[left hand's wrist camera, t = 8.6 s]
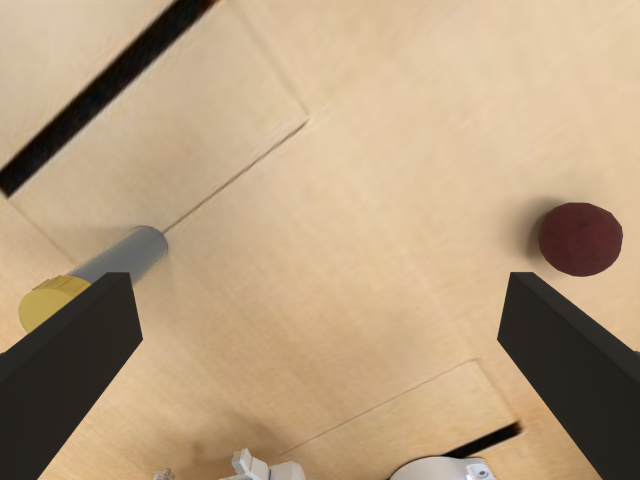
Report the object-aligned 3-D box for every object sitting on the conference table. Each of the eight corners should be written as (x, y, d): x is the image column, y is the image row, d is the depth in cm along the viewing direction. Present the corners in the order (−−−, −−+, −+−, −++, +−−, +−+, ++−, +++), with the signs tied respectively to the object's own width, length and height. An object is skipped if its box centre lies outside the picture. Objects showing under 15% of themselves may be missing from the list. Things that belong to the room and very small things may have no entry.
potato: (540, 270, 43) (580, 300, 36) (513, 217, 41) (551, 239, 34) (601, 237, 41) (654, 262, 35) (577, 181, 39) (629, 196, 33)
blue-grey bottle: (166, 226, 41) (84, 291, 27) (169, 264, 43) (94, 343, 29) (124, 224, 41) (20, 288, 27) (129, 262, 43) (34, 341, 28)
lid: (102, 276, 29) (84, 290, 26) (112, 334, 30) (96, 351, 28) (33, 273, 28) (9, 286, 26) (47, 331, 30) (26, 348, 28)
